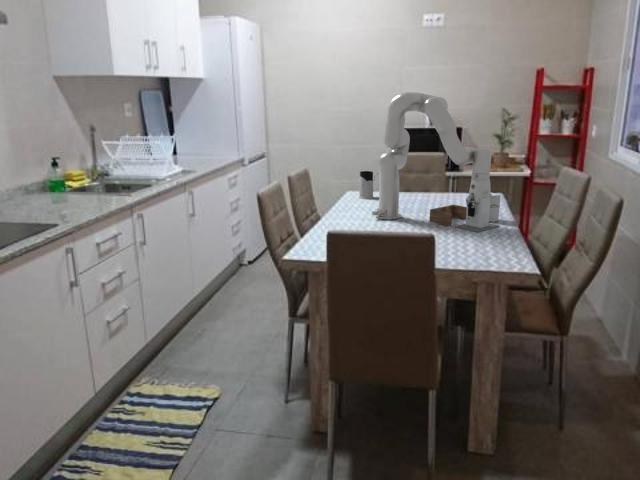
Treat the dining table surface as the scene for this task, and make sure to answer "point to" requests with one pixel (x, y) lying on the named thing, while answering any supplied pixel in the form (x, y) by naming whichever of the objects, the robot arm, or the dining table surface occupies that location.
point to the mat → (476, 229)
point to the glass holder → (366, 184)
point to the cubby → (447, 214)
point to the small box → (479, 214)
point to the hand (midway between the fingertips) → (477, 214)
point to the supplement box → (494, 207)
